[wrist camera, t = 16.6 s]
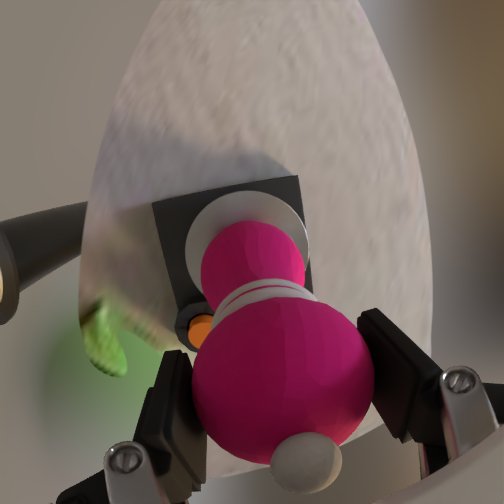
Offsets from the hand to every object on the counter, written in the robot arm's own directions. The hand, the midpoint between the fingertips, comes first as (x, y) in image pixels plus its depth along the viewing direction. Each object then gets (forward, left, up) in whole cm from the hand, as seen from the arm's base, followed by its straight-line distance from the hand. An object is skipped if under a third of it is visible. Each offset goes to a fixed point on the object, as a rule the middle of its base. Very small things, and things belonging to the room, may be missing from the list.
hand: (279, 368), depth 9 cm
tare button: (-5, -7, -17) cm, 19 cm away
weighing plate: (0, 0, -16) cm, 16 cm away
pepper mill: (0, 0, -15) cm, 15 cm away
